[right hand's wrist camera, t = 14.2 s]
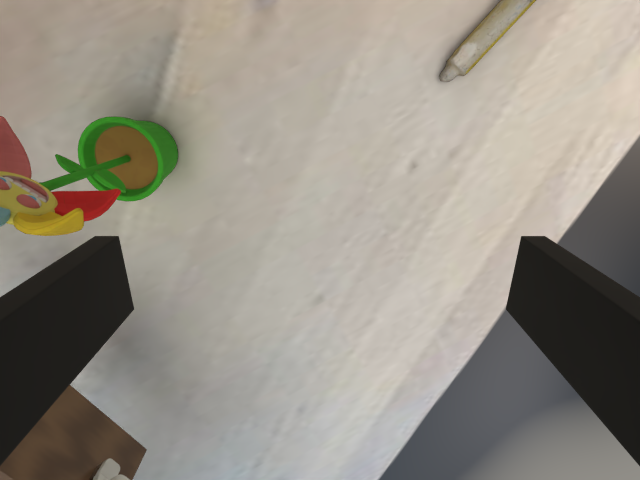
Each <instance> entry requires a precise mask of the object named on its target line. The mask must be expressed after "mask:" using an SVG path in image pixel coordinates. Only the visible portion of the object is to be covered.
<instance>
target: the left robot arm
mask: <svg viewBox="0 0 640 480" xmlns="http://www.w3.org/2000/svg"><path fill="white" fill-rule="evenodd" d="M119 471H120V465H119V464H118V463H116V462H115V461H114V460H113V459H111V458H109V459H107V460H105V461H104V462H102V463H101V464H99V465H97V467H96V468H95V471H94V472H93V473H92V475H91V477H90V478H89V479H90V480H130V479H129V478H127V477H126V476H124V475H118V473H119Z"/></svg>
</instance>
